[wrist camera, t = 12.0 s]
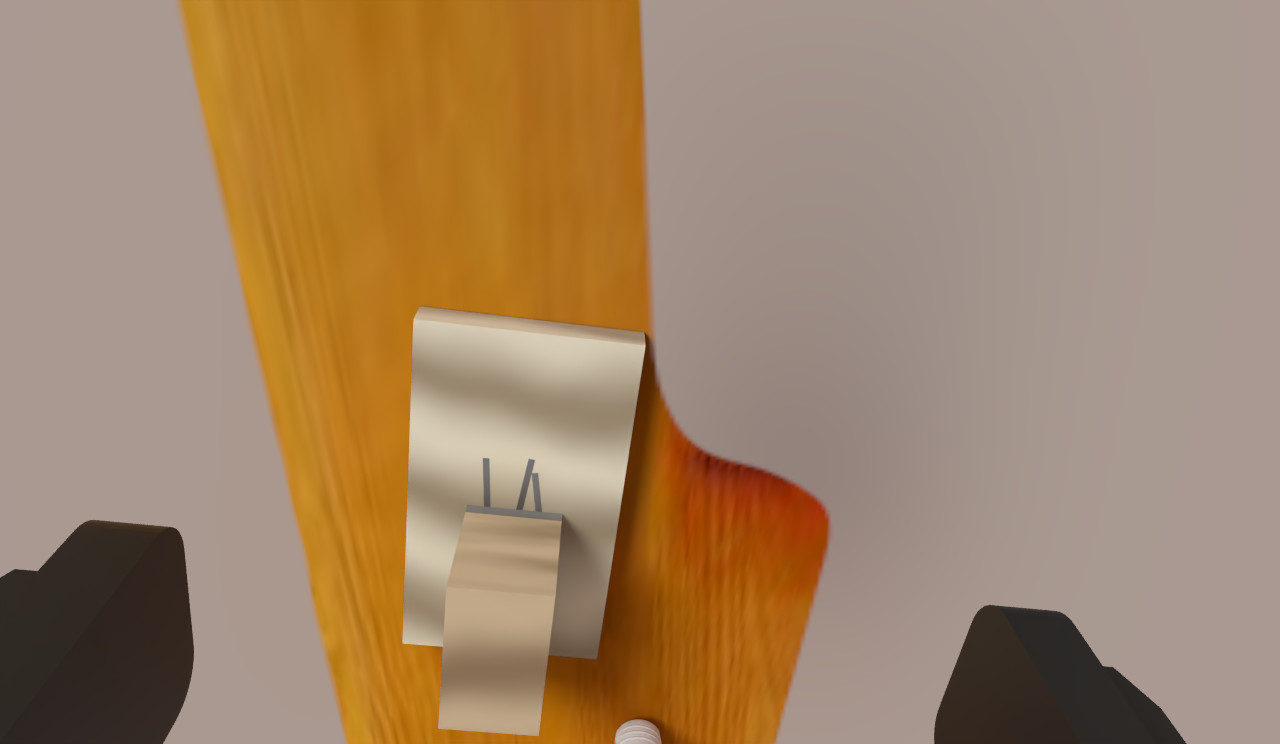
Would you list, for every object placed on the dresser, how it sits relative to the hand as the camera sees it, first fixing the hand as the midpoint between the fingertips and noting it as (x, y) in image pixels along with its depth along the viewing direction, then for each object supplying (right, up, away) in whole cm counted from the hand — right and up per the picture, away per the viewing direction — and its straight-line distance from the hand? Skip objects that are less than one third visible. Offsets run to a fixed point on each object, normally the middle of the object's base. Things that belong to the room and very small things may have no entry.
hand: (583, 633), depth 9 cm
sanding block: (-6, -7, +35) cm, 36 cm away
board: (-5, -3, +34) cm, 35 cm away
